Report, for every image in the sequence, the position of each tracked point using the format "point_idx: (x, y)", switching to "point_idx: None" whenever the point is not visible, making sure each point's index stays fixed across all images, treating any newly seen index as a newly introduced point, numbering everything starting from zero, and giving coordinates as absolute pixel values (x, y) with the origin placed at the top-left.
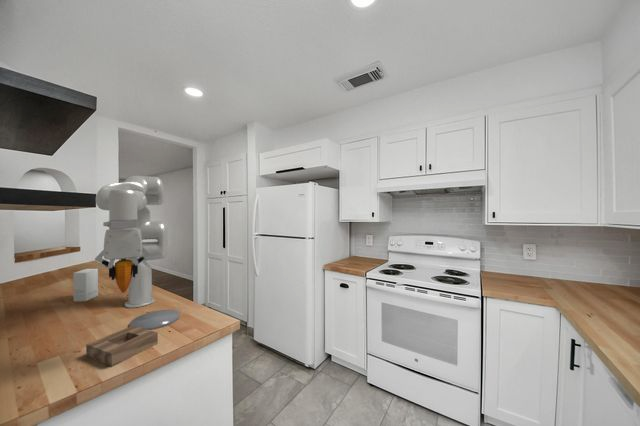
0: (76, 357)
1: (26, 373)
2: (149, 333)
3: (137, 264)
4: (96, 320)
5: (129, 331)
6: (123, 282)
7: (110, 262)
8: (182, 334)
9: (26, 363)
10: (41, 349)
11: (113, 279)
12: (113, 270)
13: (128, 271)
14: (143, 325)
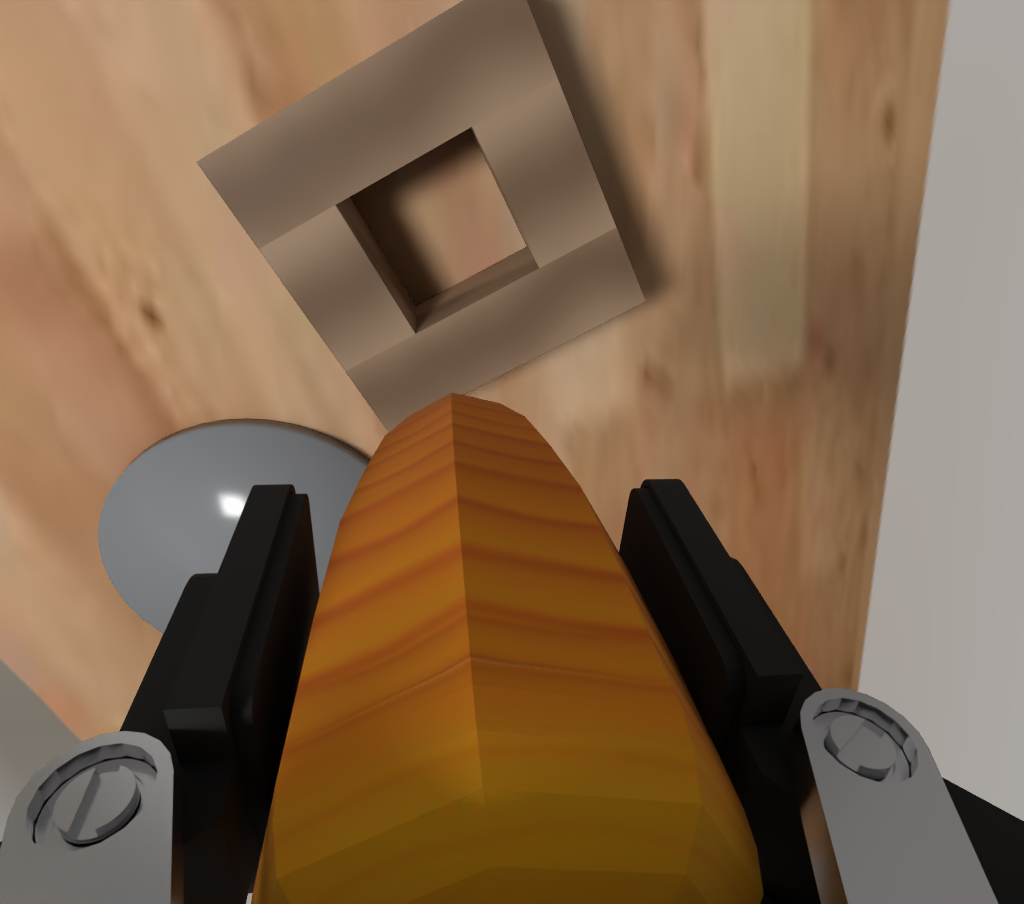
0: (663, 301)
1: (848, 272)
2: (262, 188)
3: (85, 777)
4: None
5: (407, 337)
6: (473, 415)
7: (951, 889)
8: (36, 183)
9: (835, 391)
10: (775, 507)
11: (648, 480)
12: (729, 620)
13: (377, 560)
14: (334, 487)
